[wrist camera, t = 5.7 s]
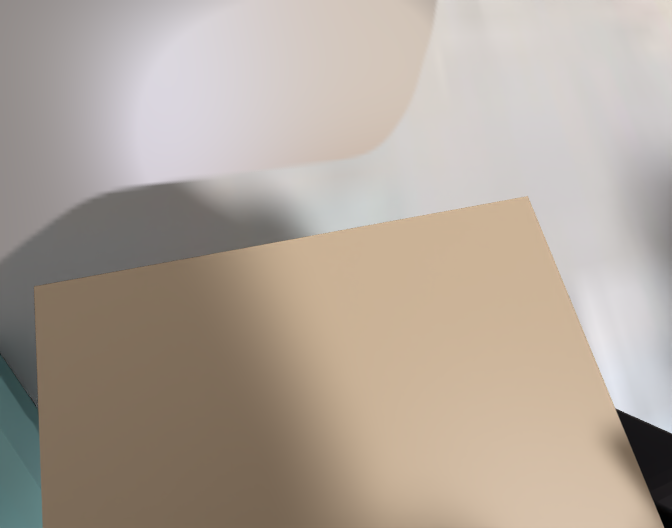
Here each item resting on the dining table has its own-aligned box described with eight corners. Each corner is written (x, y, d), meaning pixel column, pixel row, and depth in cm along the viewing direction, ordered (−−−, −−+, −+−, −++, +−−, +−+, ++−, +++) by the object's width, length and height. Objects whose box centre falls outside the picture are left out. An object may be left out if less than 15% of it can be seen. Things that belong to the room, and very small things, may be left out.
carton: (375, 411, 14) (752, 731, 3) (260, 450, 13) (58, 1309, 2) (347, 300, 15) (529, 192, 4) (238, 326, 14) (27, 281, 3)
